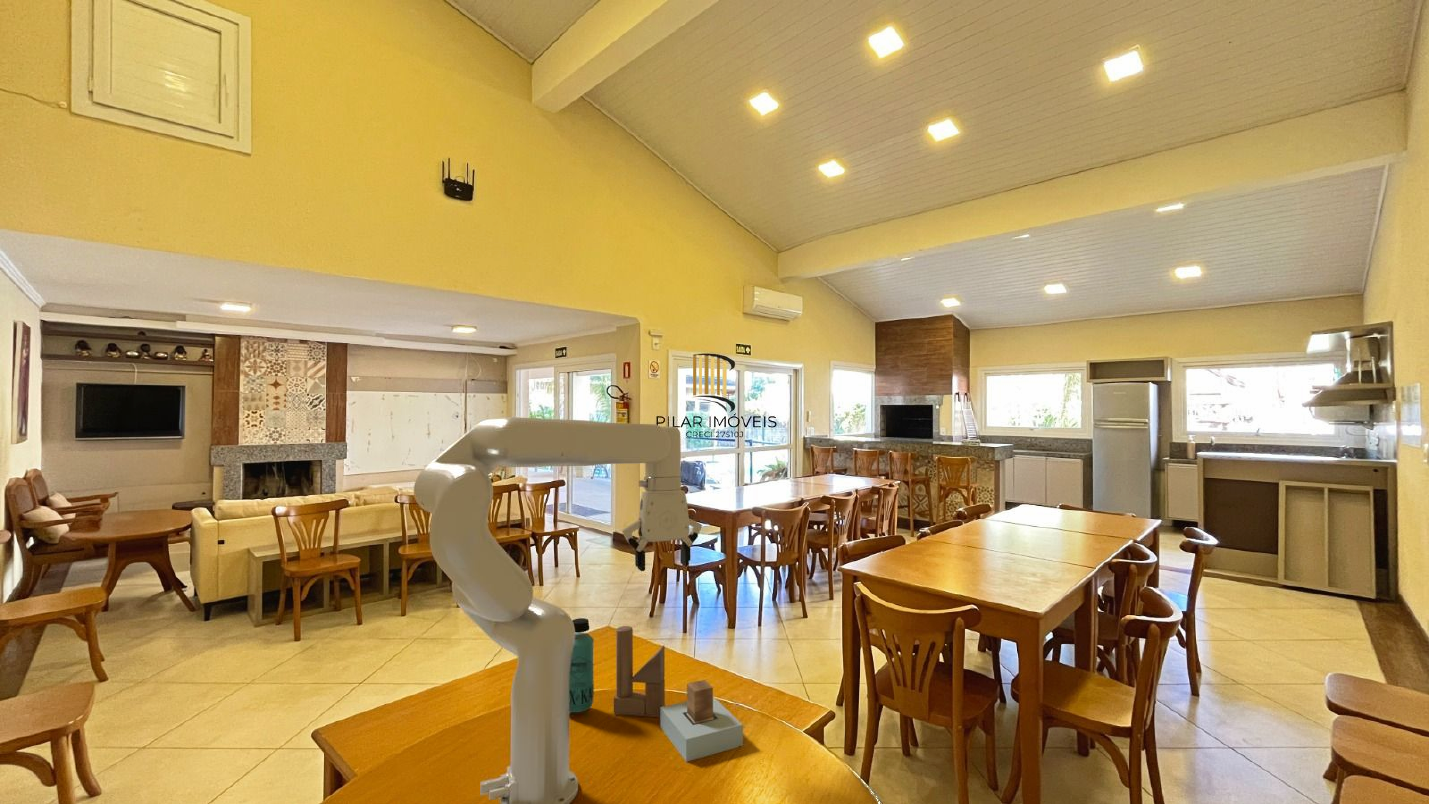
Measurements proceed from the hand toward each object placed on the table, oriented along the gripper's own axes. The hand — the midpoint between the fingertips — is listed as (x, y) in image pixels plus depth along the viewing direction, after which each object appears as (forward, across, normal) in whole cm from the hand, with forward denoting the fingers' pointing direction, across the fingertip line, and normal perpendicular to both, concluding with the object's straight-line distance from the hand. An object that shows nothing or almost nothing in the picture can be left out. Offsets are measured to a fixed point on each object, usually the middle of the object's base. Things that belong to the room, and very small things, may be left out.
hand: (663, 567), depth 117 cm
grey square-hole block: (+33, +6, -5) cm, 34 cm away
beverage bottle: (+34, -14, +16) cm, 40 cm away
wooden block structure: (+34, -2, +10) cm, 35 cm away
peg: (+33, +6, -5) cm, 34 cm away
